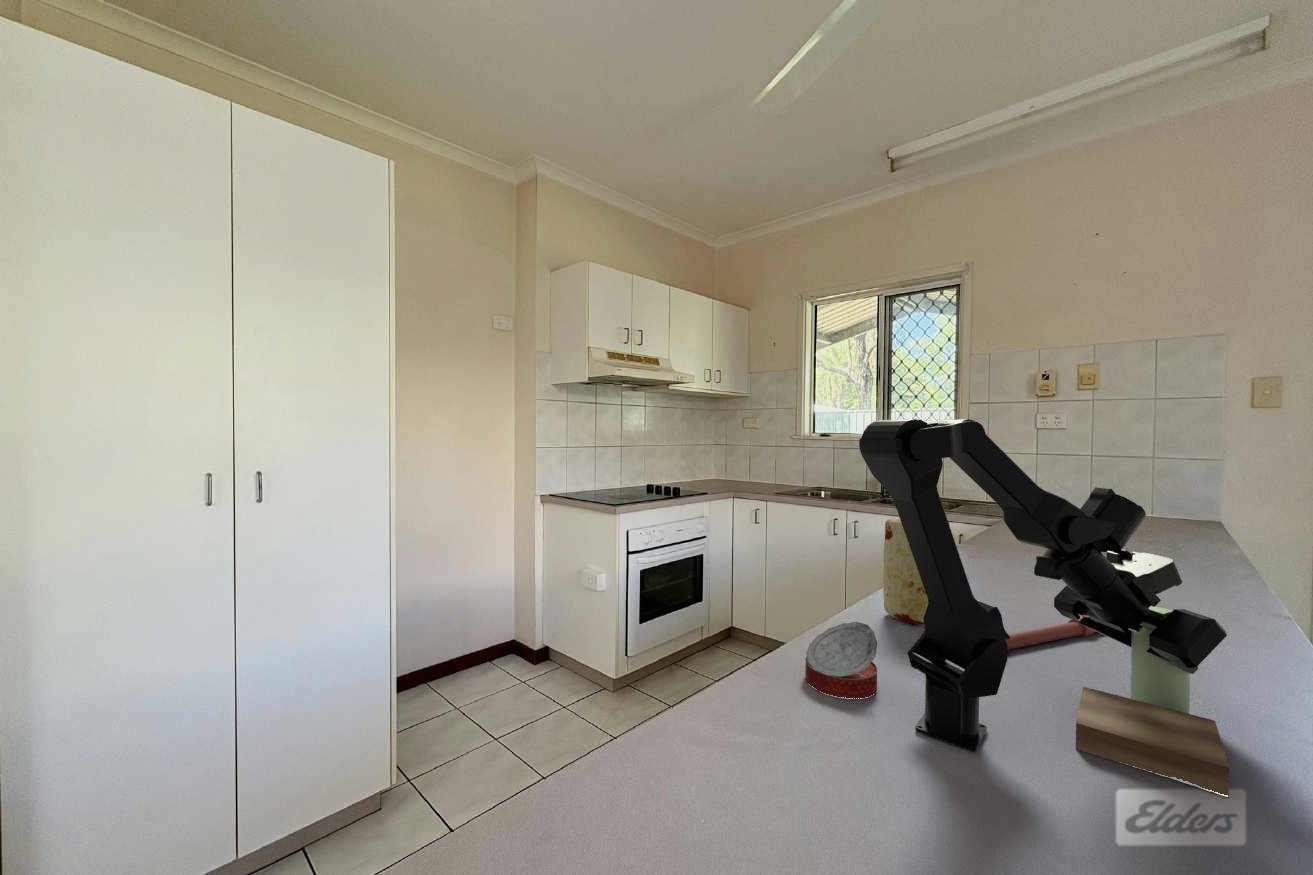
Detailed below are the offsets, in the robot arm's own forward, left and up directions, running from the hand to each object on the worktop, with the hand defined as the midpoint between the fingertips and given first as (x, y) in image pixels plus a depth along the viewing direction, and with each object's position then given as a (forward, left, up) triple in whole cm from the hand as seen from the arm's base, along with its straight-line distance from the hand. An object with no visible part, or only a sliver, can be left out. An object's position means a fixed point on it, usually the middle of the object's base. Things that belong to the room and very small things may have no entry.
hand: (1170, 660), depth 69 cm
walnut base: (-13, +3, -7) cm, 15 cm away
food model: (+12, +36, -7) cm, 38 cm away
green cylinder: (-1, +1, -7) cm, 7 cm away
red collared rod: (+22, +13, -7) cm, 26 cm away
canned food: (-22, +35, -7) cm, 42 cm away
